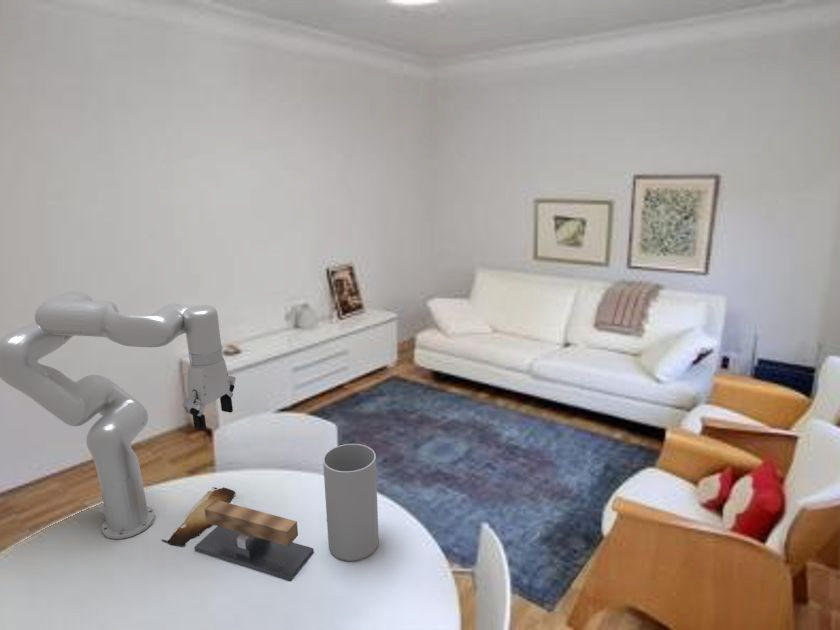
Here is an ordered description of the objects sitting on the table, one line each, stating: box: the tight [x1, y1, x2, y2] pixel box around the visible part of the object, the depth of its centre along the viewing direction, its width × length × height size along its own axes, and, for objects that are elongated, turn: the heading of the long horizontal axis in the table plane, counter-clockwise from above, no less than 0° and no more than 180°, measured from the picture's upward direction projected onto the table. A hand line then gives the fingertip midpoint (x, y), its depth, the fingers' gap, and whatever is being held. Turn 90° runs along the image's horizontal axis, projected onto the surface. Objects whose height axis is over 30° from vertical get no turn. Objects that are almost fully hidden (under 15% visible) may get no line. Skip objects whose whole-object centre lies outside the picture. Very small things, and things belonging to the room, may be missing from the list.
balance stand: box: [193, 526, 315, 582], centre depth 133 cm, size 28×10×7 cm, turn 69°
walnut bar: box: [205, 500, 299, 546], centre depth 132 cm, size 24×4×4 cm, turn 69°
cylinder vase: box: [322, 443, 379, 562], centre depth 133 cm, size 12×12×25 cm
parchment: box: [161, 486, 236, 548], centre depth 148 cm, size 25×10×1 cm, turn 168°
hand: (214, 419), depth 137 cm, fingers open, 9 cm apart
